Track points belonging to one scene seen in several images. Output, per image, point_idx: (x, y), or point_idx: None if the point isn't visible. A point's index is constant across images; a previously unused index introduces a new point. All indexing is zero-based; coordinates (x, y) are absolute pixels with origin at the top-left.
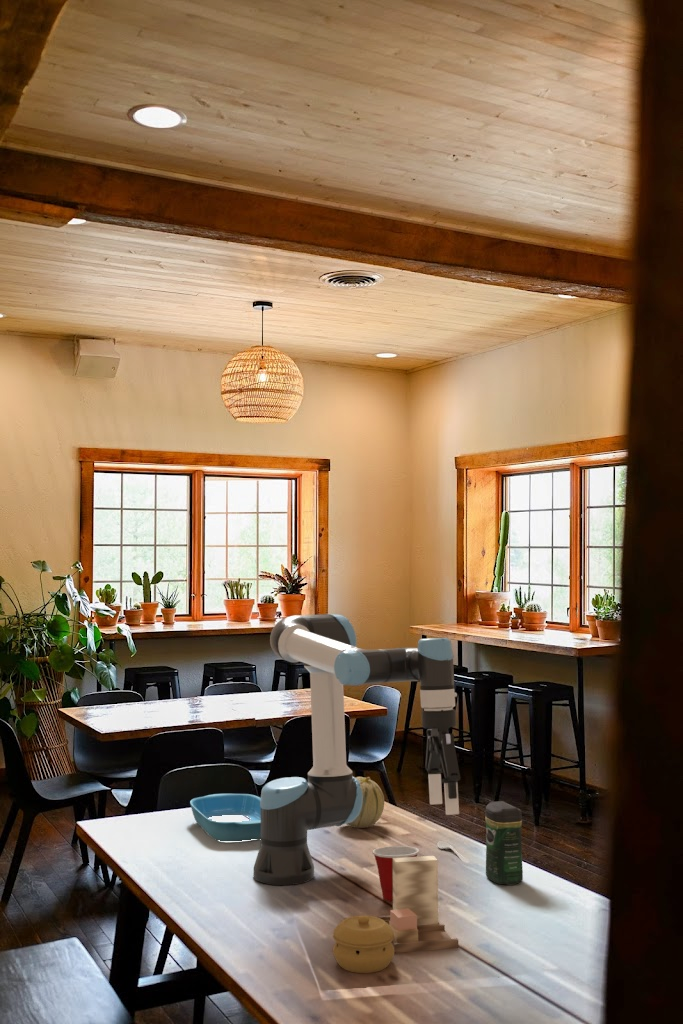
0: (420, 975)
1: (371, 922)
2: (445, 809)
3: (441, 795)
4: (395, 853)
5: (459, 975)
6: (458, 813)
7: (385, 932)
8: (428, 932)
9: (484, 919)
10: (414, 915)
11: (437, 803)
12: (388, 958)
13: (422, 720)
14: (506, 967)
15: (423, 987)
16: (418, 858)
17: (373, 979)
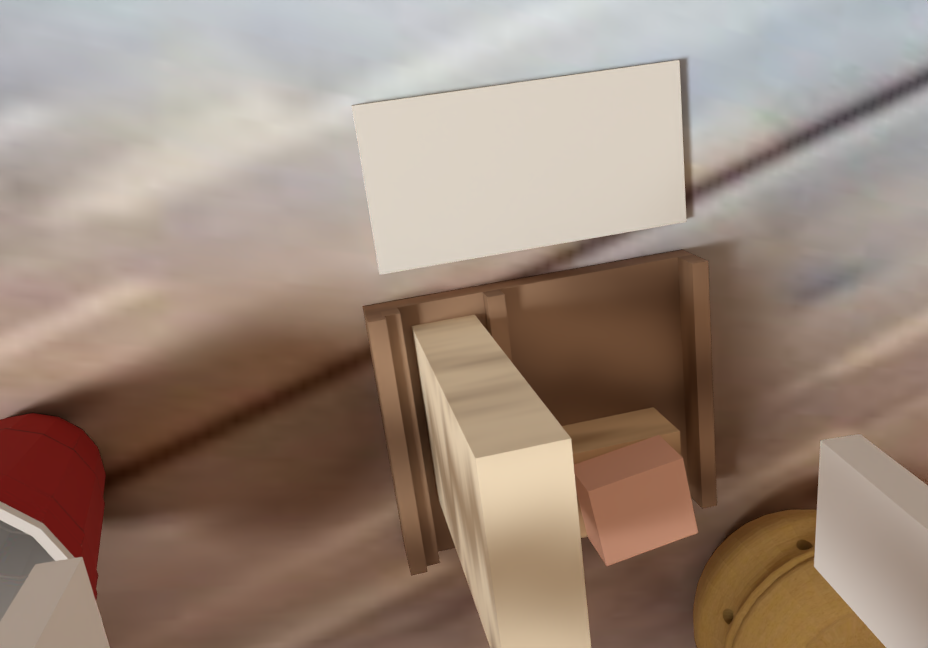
0: (835, 401)
1: (840, 645)
2: (846, 600)
3: (47, 637)
4: None
5: (860, 271)
6: (863, 444)
7: None
8: (522, 359)
9: (280, 57)
10: (680, 467)
11: (93, 618)
12: None
13: None
14: (830, 80)
15: (919, 396)
16: (529, 554)
17: None
